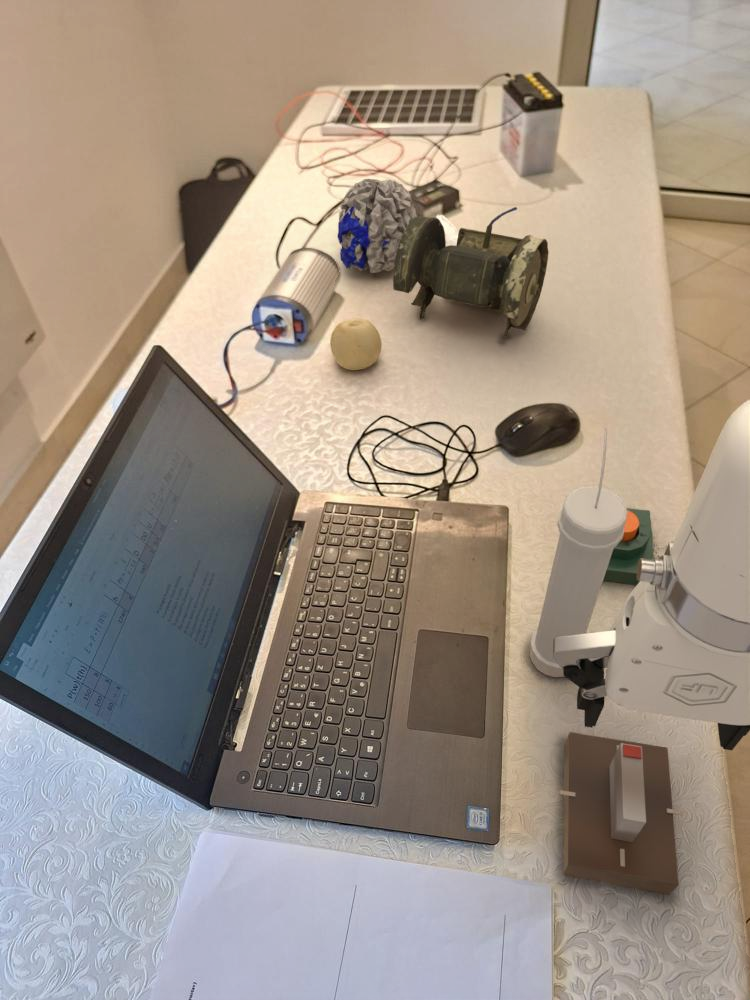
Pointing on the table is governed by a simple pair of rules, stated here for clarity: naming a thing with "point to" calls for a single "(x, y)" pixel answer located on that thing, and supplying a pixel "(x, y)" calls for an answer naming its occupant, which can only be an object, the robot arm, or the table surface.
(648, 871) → the panel
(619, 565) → the button box
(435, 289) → the bench grinder
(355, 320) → the apple
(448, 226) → the bird figurine
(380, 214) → the educational model
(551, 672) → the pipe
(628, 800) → the rod knob
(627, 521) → the button
